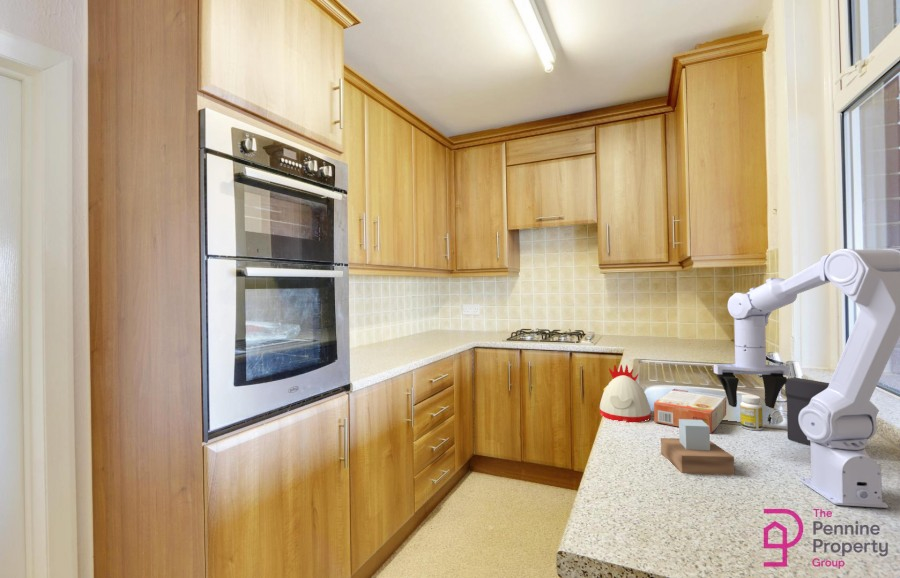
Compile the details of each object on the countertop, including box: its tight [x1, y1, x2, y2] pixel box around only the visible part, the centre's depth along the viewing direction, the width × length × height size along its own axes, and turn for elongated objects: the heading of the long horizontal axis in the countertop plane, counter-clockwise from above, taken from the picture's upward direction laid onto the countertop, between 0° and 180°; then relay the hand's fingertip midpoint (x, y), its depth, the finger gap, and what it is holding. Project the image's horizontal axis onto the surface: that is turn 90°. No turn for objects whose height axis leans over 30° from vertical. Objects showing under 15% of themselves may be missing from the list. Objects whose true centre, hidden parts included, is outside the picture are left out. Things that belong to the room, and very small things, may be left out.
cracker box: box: [653, 388, 727, 434], centre depth 118 cm, size 14×6×21 cm
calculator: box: [784, 377, 830, 447], centre depth 97 cm, size 11×4×15 cm, turn 22°
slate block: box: [678, 419, 711, 451], centre depth 89 cm, size 4×4×5 cm
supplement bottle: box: [739, 394, 764, 431], centre depth 110 cm, size 5×5×8 cm
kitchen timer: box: [599, 364, 652, 423], centre depth 123 cm, size 14×14×15 cm
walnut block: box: [660, 437, 735, 476], centre depth 88 cm, size 10×10×4 cm
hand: (751, 406), depth 94 cm, fingers open, 7 cm apart
